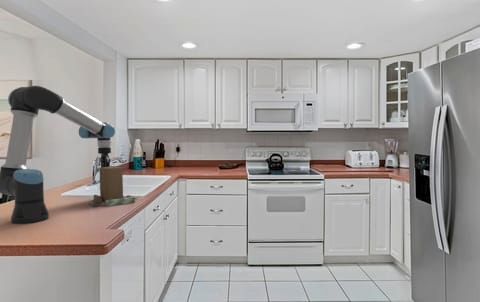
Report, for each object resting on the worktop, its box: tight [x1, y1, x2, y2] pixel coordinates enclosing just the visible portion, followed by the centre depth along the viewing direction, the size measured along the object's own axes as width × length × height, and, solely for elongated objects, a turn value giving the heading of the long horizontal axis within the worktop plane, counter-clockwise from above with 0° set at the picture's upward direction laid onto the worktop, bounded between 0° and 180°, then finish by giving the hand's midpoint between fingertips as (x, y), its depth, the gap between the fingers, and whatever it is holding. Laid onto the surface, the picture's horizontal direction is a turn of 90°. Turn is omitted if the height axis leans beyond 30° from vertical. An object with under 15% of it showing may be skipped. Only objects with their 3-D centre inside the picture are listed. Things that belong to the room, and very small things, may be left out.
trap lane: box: [88, 194, 138, 208], centre depth 202 cm, size 27×25×3 cm
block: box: [98, 165, 124, 202], centre depth 205 cm, size 10×10×20 cm
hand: (106, 184), depth 214 cm, fingers closed
